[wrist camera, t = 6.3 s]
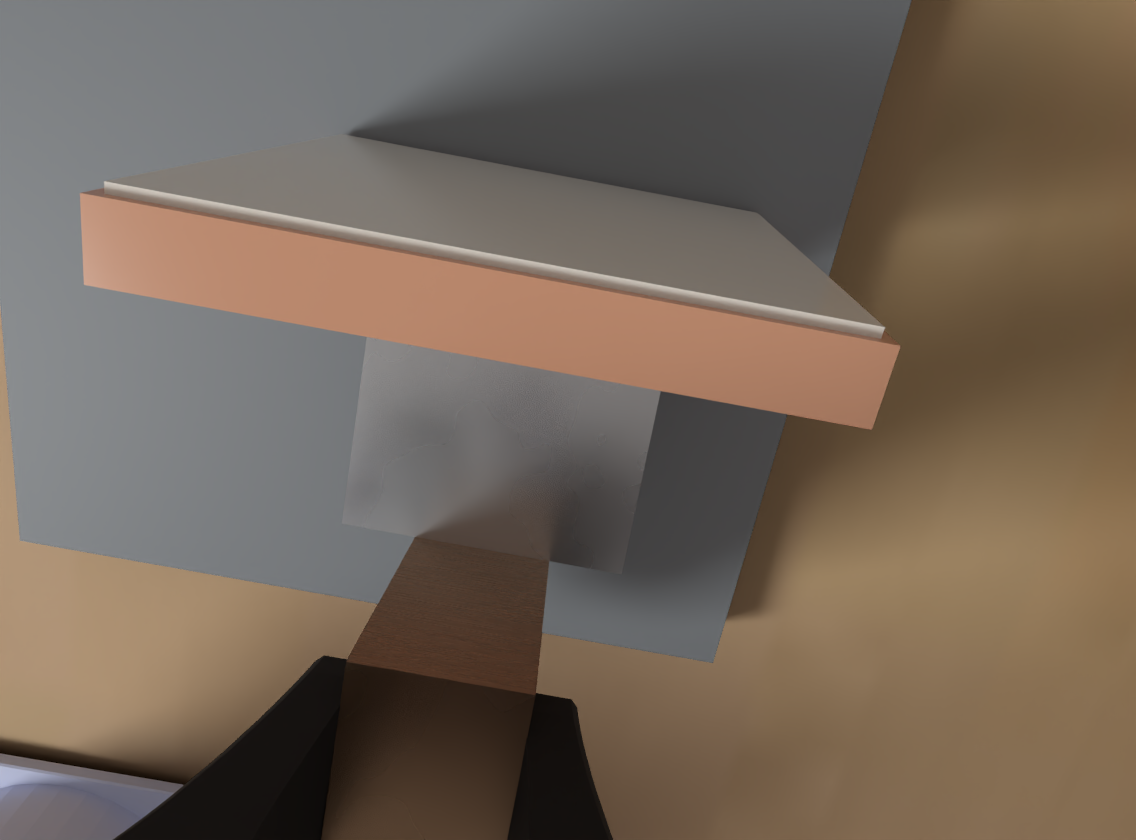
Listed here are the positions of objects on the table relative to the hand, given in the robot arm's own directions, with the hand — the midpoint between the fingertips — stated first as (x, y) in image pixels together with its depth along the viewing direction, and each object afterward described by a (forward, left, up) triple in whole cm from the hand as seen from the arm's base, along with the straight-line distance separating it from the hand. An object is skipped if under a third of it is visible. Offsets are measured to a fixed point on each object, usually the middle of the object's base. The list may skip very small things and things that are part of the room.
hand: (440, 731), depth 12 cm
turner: (+1, 0, -4) cm, 4 cm away
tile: (+7, 0, -2) cm, 7 cm away
